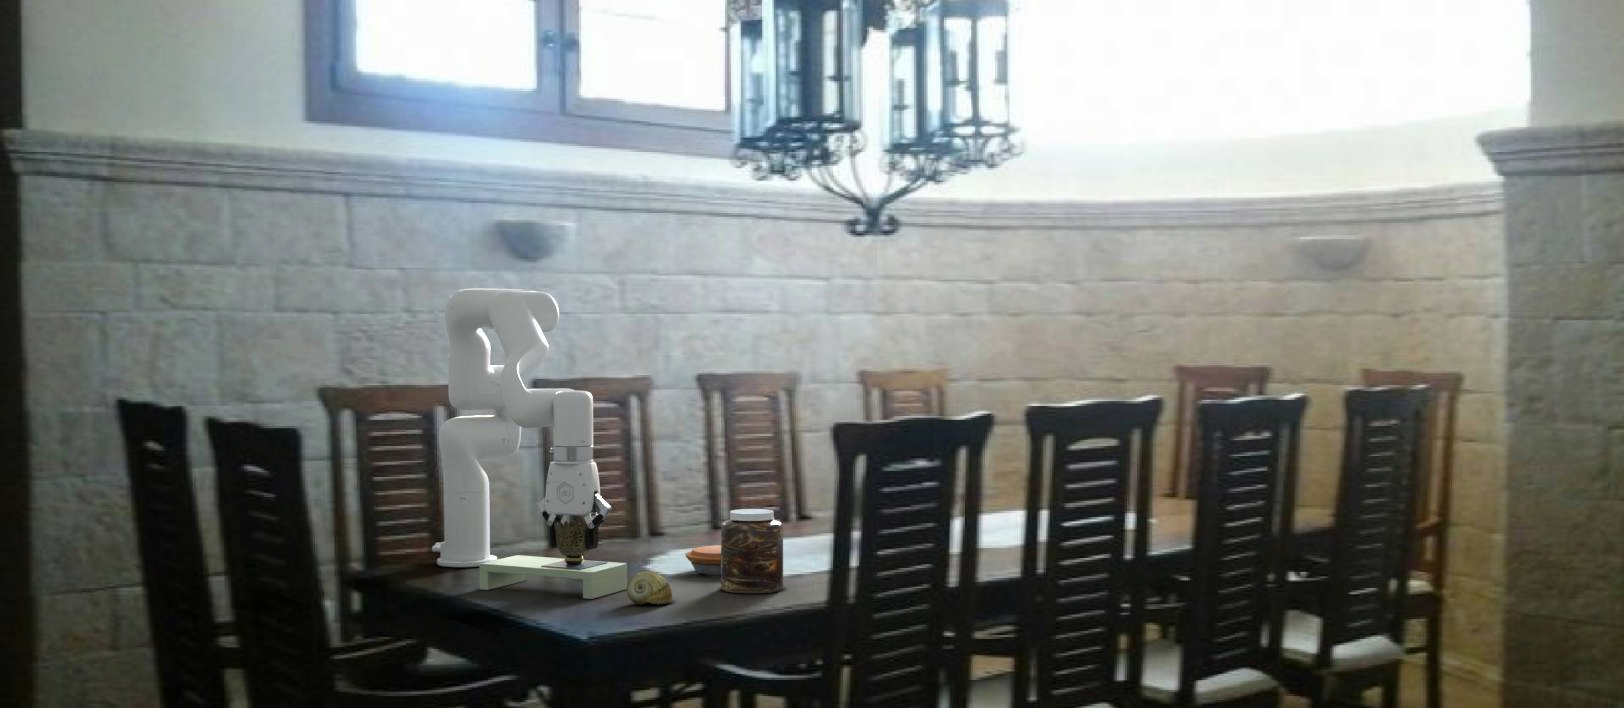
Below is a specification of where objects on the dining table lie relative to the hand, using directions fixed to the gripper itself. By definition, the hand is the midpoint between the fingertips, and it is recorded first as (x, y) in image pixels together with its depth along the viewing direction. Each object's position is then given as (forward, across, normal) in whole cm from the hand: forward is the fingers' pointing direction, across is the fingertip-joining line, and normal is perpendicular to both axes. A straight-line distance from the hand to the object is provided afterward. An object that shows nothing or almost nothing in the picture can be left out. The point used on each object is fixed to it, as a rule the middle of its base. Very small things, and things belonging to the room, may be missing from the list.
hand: (574, 546), depth 291 cm
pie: (+9, +14, +33) cm, 37 cm away
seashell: (+9, +20, -5) cm, 22 cm away
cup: (+3, 0, 0) cm, 3 cm away
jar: (+9, +30, +16) cm, 35 cm away
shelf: (+9, -5, 0) cm, 10 cm away
